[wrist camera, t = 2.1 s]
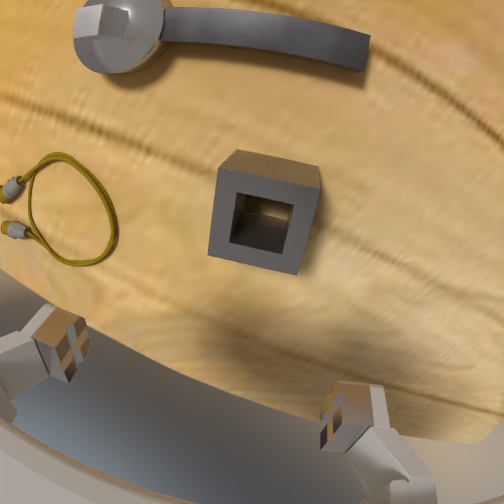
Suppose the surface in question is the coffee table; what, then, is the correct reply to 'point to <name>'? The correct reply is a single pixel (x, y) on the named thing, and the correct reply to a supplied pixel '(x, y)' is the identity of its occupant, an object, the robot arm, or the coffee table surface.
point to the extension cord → (10, 193)
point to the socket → (261, 226)
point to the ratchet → (203, 34)
